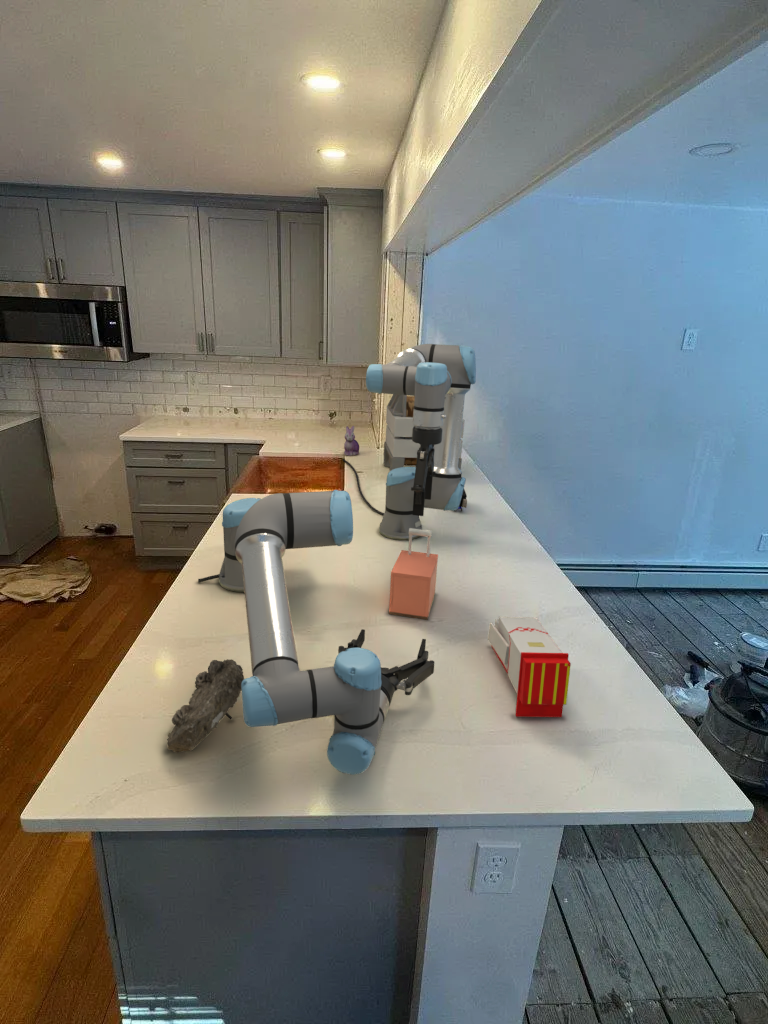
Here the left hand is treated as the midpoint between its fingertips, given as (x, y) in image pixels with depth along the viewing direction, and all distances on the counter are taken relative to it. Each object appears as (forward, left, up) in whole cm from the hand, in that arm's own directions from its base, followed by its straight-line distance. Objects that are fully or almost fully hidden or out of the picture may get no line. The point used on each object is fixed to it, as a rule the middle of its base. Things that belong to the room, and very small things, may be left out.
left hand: (393, 639), depth 124 cm
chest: (0, +28, -6) cm, 29 cm away
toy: (+28, +4, -6) cm, 29 cm away
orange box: (0, +29, +5) cm, 29 cm away
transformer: (-19, +157, -6) cm, 158 cm away
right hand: (0, +34, +20) cm, 39 cm away
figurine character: (+4, +112, -6) cm, 113 cm away
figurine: (-60, +181, -6) cm, 191 cm away
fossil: (-30, -26, -6) cm, 40 cm away
